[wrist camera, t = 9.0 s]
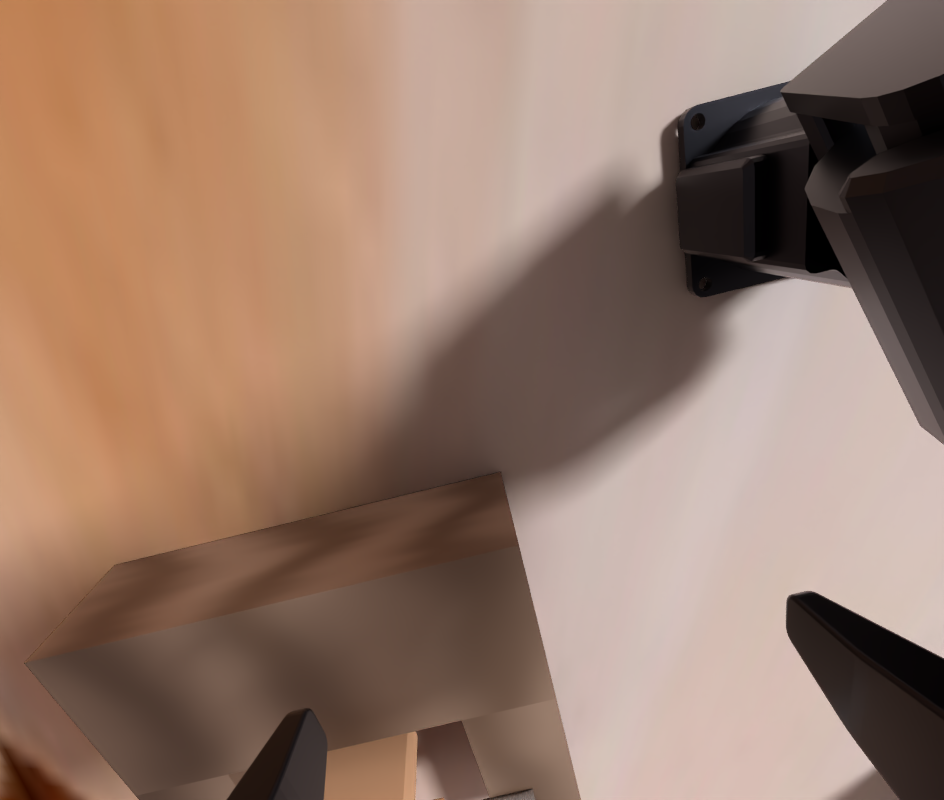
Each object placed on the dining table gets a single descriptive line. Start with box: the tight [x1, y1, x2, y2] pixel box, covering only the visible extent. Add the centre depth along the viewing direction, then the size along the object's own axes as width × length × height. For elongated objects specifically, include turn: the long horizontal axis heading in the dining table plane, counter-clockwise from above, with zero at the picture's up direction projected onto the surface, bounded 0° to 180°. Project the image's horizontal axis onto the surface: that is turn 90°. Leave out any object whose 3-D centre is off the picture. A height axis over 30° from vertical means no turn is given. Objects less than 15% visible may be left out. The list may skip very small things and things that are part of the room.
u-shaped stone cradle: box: [24, 472, 581, 800], centre depth 22 cm, size 18×20×5 cm
